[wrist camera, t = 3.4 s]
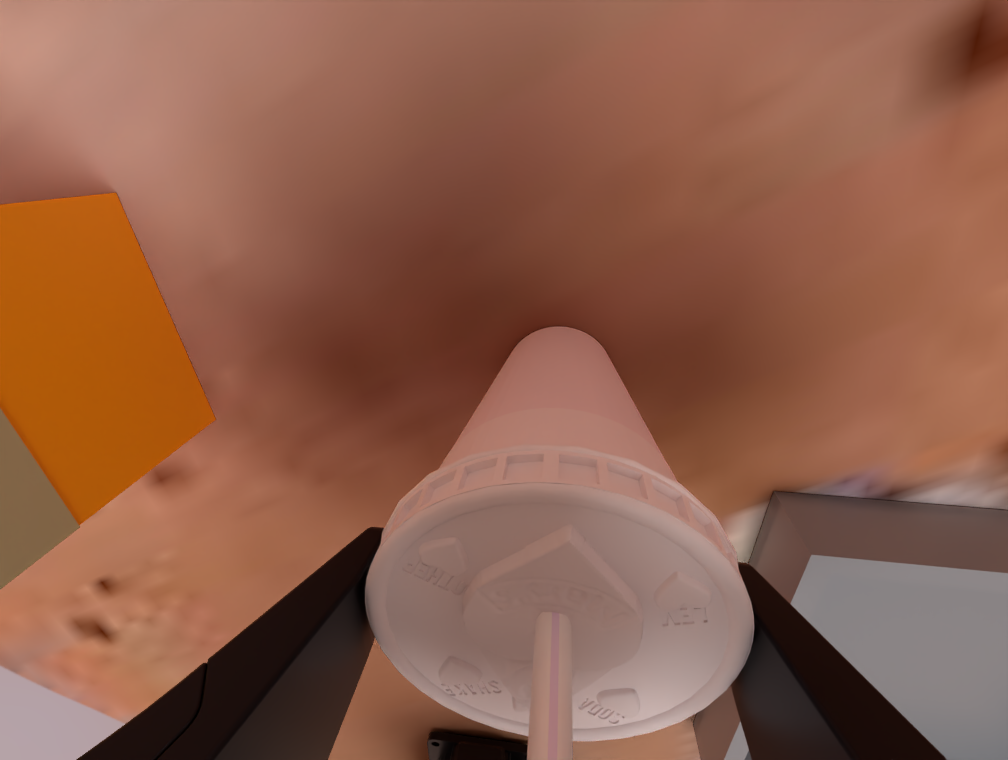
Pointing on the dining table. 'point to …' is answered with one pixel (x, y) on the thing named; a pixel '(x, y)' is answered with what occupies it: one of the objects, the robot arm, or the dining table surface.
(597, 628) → the smoothie
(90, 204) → the orange juice
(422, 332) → the dining table surface
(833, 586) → the gray square tray
